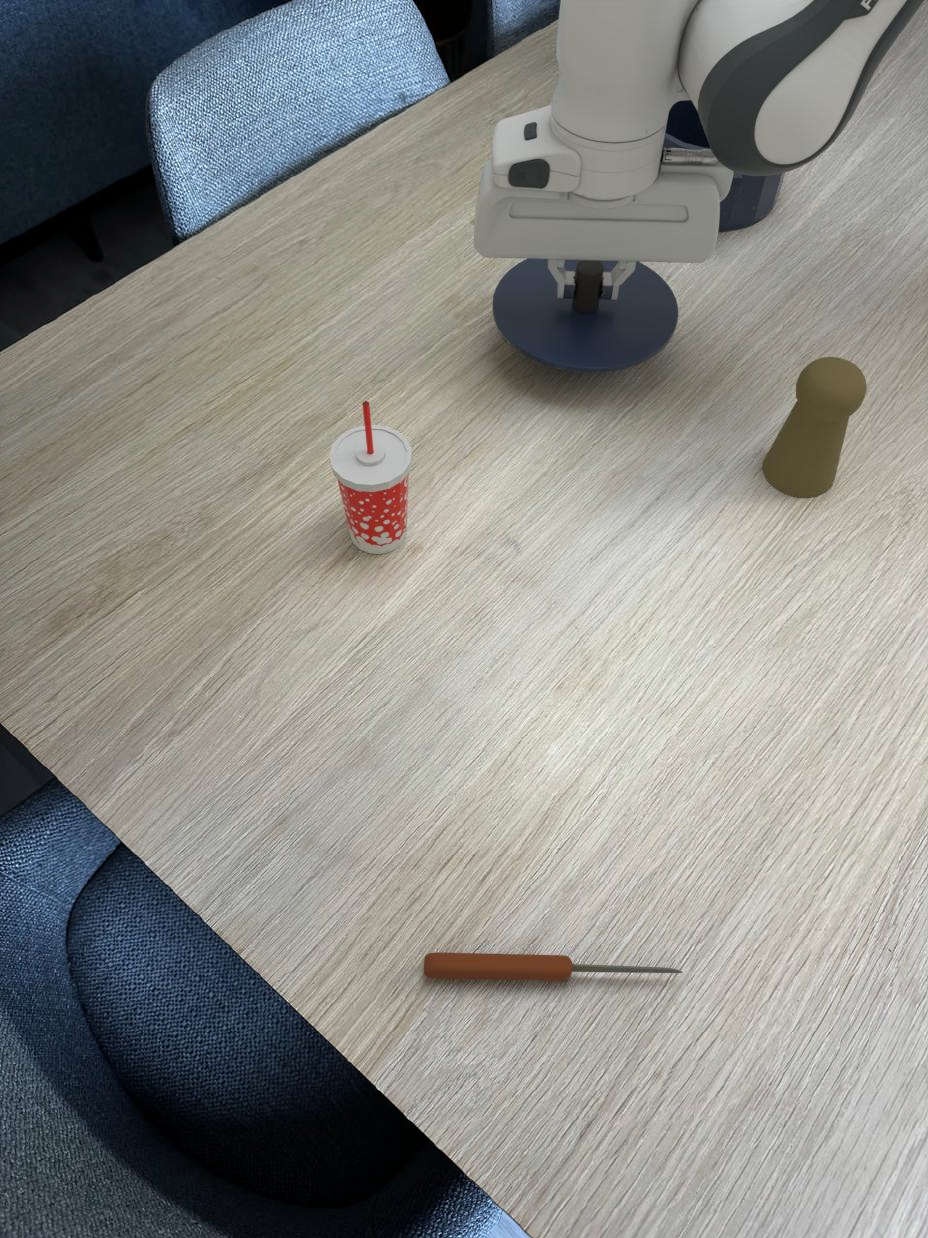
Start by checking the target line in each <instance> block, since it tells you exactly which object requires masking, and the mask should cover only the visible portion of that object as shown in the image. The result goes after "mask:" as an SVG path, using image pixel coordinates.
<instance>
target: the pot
mask: <svg viewBox="0 0 928 1238" xmlns="http://www.w3.org/2000/svg"><path fill="white" fill-rule="evenodd" d="M663 148H684V149H690V150H702V149H711V148H710V146H709V143H708V140H707V137H706V135H705V132H704V129H703V126H702V124H701V121H700V118H699V114H698V111H697V110H696V108H695V106H694V104H693V102H692V101H691V100H684V101H678V102H676V103H675V104H674V105H673V106H672V107H671V109H670V111H669V114H668V120H667V126H666V132H665V137H664V143H663ZM718 162H719V161H718ZM785 175H786V172H785V173H781V174H776V175H769V176H749V175H743V174H739V173H736V172H734V175H733V179H732V183H731V187H730V190H729V193H728V195H727V196H726V197H725V199H724V200H722V201H721V202H720V218H719V230H718V233H719V232H721V233H722V232H729V231H730V232H731V231H735V230H740V229H744V228H747V227H750V226H752V225H754V224H756V223H759V222H760V221H762V220H763V219H764V218H766V217H768V215H769V214H770V213H771V212H772V210H773V209H774V207H775V205H776V202H777V200H778V197H779V195H780V194H781V193H780V192H781V189H782V185H783V183H784V178H785Z"/></svg>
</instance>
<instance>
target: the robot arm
mask: <svg viewBox="0 0 928 1238" xmlns="http://www.w3.org/2000/svg"><path fill="white" fill-rule="evenodd" d="M924 2H925V0H560V3H559V10H558V18H557V19H558V20H557V22H558V23H557V31H556V40H555V54H556V60H557V66H558V80H557V83H556V87H555V89H554V91H553V95H552V99H551V103H550V104H549V105H546V106H543V107H540V108H537V109H534V110H530V111H527V112H524V113H520V114H517V115H513V116H509V117H506V118H503V119H501V120H498V122H497V123H496V125H495V127H494V131H493V135H492V141H491V151H490V152H491V153H490V158H489V159H488V160H487V162H486V163H485V165H484V167H483V169H482V172H481V175H480V180H479V185H478V189H477V196H476V197H477V198H476V203H475V211H474V225H473V227H474V228H473V247H474V249H475V250H476V252H478V254H479V255H480V256H481V257H482V258H488V259H525V260H526V259H548V269H549V270H550V272H551V274H552V275H553V277H554V278H555V280H556V282H557V298H565V299H574V291H575V271H566V270H565V268H564V263H565V260H601V261H618V263H617V265H616V266H615V267H614V269H613V270H612V271H611V272H603V279H602V286H601V293H600V299H608V300H617V297H618V291H619V285H621V284H622V283H623V282H624V281H625V280H626V279H627V278H628V277H629V276H630V275H631V274H632V273H633V271H634V270H635V266H636V261H638V262H640V263H643V262H644V263H676V264H677V263H682V264H703V263H704V262H706V261H707V260H708V259H710V258H711V257H712V256H713V255H714V254H715V253H716V249H717V242H718V238H719V232H718V230H719V218H720V202H721V201H722V200H724V199H725V197H726V196H727V195H728V193H729V190H730V187H731V183H732V179H733V175H734V172H736V173H739V174H743V175H749V176H769V175H776V174H781V173H785V174H786V173H787V172H790V171H794V170H797V169H798V168H801V167H803V166H804V165H805V166H806V165H807V164H809V163H810V162H812V161H813V160H815V159H816V158H818V157H819V156H821V155H822V154H823V153H824V152H825V151H826V150H827V149H828V148H829V147H831V146H832V145H833V143H834V142H836V140H837V139H838V137H839V136H840V135H841V134H842V132H843V131H844V129H845V128H846V127H847V125H848V124H849V122H850V121H851V119H852V117H853V116H854V114H855V112H856V110H857V108H858V106H859V104H860V103H861V101H862V99H863V96H864V94H865V92H866V90H867V88H868V87H869V83H871V80H872V78H873V76H874V75H875V72H876V71H877V70H878V67H879V66H880V64H881V62H882V61H883V59H884V57H885V56H886V55H887V54H888V51H889V50H890V49H891V47H892V46H893V44H894V43H895V41H896V40H897V39H898V37H899V36H900V35H901V33H902V32H903V30H904V29H905V28H906V26H907V25H908V23H909V22H910V21H911V20H912V18H913V17H914V16H915V14H916V13H917V11H918V10H919V9H920V8H921V6H922V5H923V4H924ZM684 100H691V101H692V102H693V104H694V106H695V108H696V110H697V111H698V114H699V118H700V121H701V124H702V126H703V129H704V132H705V135H706V137H707V140H708V143H709V146H710V148H711V149H702V150H690V149H684V148H663V143H664V137H665V132H666V126H667V120H668V114H669V111H670V109H671V107H672V106H673V105H674V104H675V103H676V102H678V101H684ZM718 161H719V162H718Z"/></svg>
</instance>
